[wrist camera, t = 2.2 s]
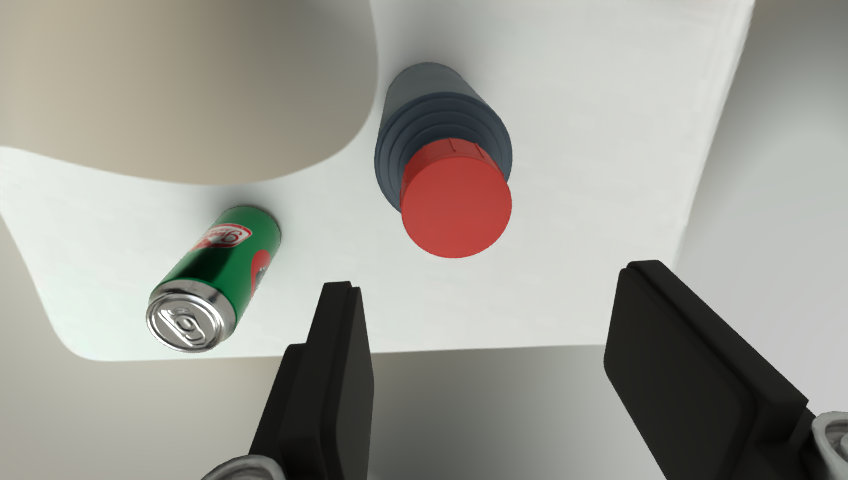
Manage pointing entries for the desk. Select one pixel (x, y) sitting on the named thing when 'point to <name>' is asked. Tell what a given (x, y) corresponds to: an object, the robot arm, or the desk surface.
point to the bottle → (433, 123)
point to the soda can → (213, 282)
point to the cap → (454, 199)
